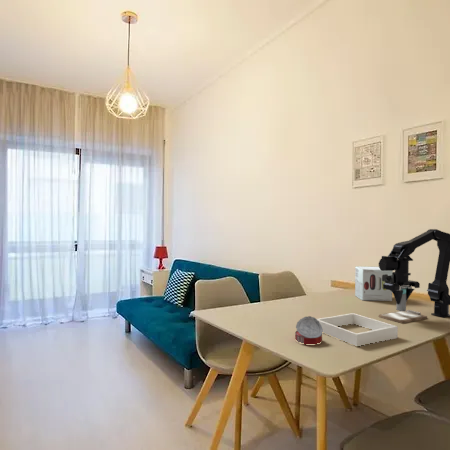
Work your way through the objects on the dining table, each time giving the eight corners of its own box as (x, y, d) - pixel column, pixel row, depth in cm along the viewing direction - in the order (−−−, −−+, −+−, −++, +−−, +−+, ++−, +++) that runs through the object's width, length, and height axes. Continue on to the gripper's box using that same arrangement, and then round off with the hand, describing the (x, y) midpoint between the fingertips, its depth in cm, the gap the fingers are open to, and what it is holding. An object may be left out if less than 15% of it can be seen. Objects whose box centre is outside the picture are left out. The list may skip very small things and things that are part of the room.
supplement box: (362, 300, 200) (362, 269, 200) (354, 295, 213) (354, 266, 213) (393, 301, 199) (393, 269, 199) (383, 296, 212) (383, 266, 212)
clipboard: (403, 312, 174) (403, 308, 174) (427, 318, 164) (427, 314, 164) (378, 316, 166) (378, 312, 166) (401, 323, 155) (401, 318, 155)
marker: (400, 308, 167) (400, 287, 167) (407, 310, 164) (408, 289, 163) (394, 309, 165) (394, 288, 165) (402, 311, 162) (402, 289, 162)
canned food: (320, 352, 134) (333, 331, 132) (307, 356, 127) (321, 334, 124) (298, 332, 141) (310, 312, 139) (284, 335, 134) (296, 314, 131)
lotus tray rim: (353, 323, 156) (353, 313, 156) (397, 337, 136) (397, 326, 136) (314, 330, 146) (314, 319, 145) (356, 347, 126) (356, 334, 126)
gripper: (399, 267, 176) (399, 298, 176) (373, 269, 167) (372, 302, 167) (420, 270, 166) (420, 303, 166) (394, 272, 157) (393, 307, 157)
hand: (401, 303), depth 164 cm, fingers closed on marker, 4 cm apart
